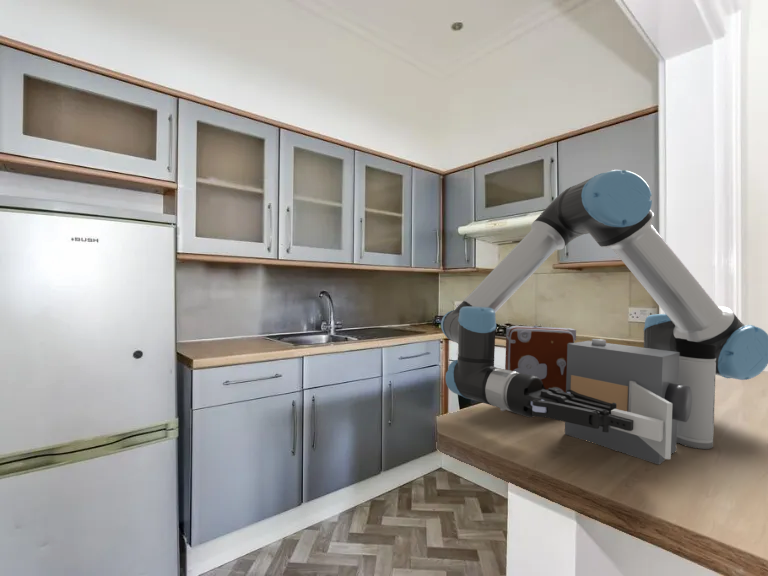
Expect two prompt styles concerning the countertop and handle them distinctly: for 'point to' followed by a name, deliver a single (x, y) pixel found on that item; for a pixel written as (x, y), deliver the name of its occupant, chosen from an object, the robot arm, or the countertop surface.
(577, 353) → the box
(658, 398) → the side door
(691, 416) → the travel mug
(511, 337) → the red printed tin
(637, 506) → the countertop surface
